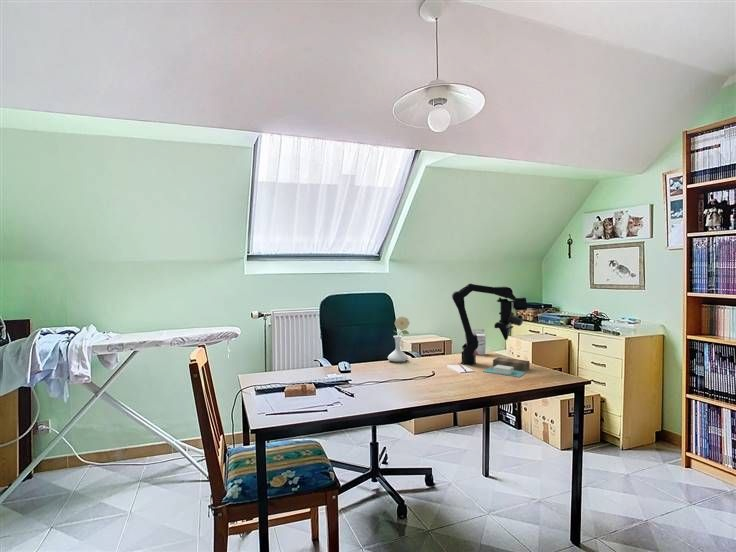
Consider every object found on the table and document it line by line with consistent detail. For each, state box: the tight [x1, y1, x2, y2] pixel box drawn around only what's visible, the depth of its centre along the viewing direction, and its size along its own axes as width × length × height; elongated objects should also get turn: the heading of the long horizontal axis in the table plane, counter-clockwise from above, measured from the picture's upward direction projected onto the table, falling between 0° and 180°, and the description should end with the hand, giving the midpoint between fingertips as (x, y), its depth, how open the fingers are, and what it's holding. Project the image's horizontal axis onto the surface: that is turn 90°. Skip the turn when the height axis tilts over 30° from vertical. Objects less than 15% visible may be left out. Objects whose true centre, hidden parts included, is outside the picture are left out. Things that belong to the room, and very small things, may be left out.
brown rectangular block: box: [492, 356, 530, 372], centre depth 220 cm, size 16×8×4 cm, turn 53°
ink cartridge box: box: [471, 328, 487, 356], centre depth 253 cm, size 9×5×15 cm, turn 84°
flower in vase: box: [387, 316, 410, 363], centre depth 237 cm, size 13×11×25 cm
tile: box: [492, 365, 514, 375], centre depth 211 cm, size 8×6×2 cm
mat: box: [482, 366, 527, 378], centre depth 212 cm, size 18×11×1 cm, turn 53°
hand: (506, 339), depth 228 cm, fingers closed
